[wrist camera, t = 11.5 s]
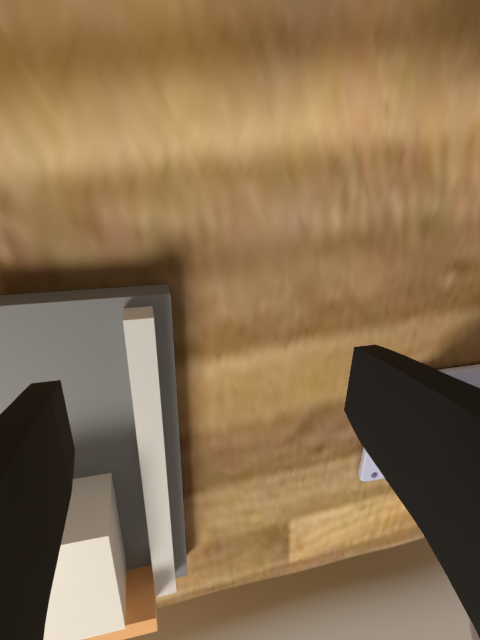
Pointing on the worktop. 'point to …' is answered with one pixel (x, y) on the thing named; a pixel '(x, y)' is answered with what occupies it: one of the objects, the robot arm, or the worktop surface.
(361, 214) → the worktop surface
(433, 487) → the robot arm
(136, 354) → the rail mount board
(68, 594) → the block
